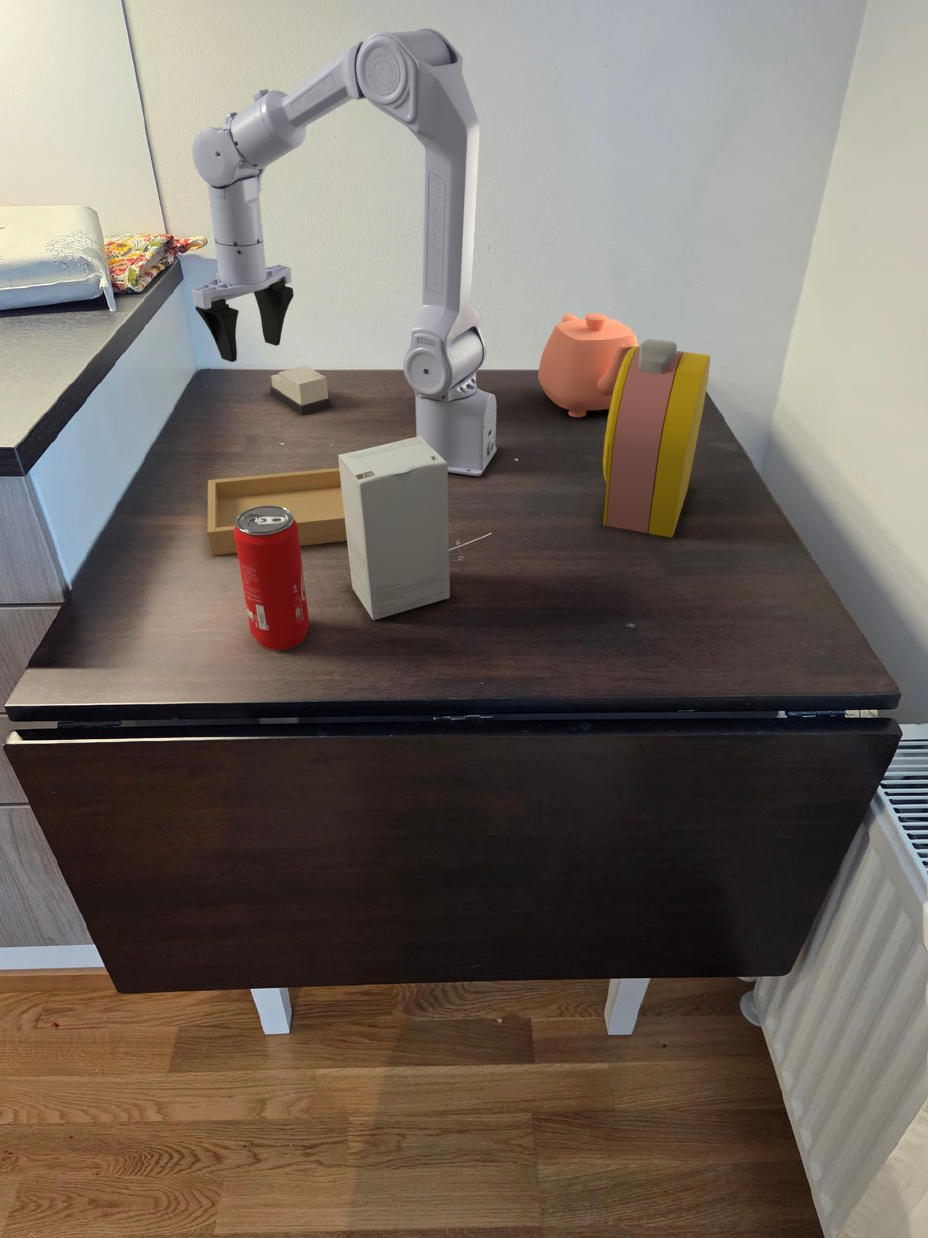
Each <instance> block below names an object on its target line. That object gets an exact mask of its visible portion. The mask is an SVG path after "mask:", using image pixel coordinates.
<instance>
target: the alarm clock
mask: <svg viewBox="0 0 928 1238" xmlns="http://www.w3.org/2000/svg"><path fill="white" fill-rule="evenodd" d="M677 349H678V344H677V343H676V341H670V340H669V341H668V340H663V339H662V340H660V339H652V338H648V339H646V340H644V341H642V342H641V343H640V346H639V345H638V346H634V347H633V348H631V349H630V350H629V351H628V353H627V354H626V356H625V358H624V360H623V362H622V365H621V367H620V369H619V373H618V376H617V380H616V384H615V387H614V391H613V396H612V400H611V405H610V410H608V416H607V422H606V429H605V435H604V443H603V457H602V470H603V477H604V481H605V485H606V486H605V496H604V509H603V510H604V511H603V519H602V520H603V521H602V525H603V526H606V527H611V528H615V529H616V528H617V529H623V530H627V531H632V532H639V533H645V534H650V535H656V536H661V537H666V538H673V537H674V534H675V530H676V528H677V524H678V521H679V518H680V515H681V512H682V509H683V506H684V501H685V499H686V496H687V493H688V489H689V483H690V479H691V474H692V467H693V464H694V457H695V452H696V447H697V442H698V436H699V431H700V427H701V420H702V416H703V410H704V405H705V400H706V394H707V387H708V382H709V374H710V366H711V354H705V353H698V352H689V351H688V352H687V351H682V350H677Z"/></svg>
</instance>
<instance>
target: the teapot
mask: <svg viewBox="0 0 928 1238" xmlns="http://www.w3.org/2000/svg"><path fill="white" fill-rule="evenodd" d="M634 346H639V343H638V339H637V337H636V334H635V332H634V331H633V330H632V329H631V328H630V327H628V326H626V324H624V323H622V322H621V321H618V320H617V319H614V318H613V319H612V318H608V316H607V315H605V314H603V313H597V312H593V313H588V314H585V315H584V318H579V317H577V316H576V315H574V314H573V313H566V314H564V315H562V318H561V322H560V323H557V324H556V325H555V326H554V328H553V329H552V331H551V333H550V335H549V338H548V340H547V341H546V344H545V346H544V348H543V351H542V354H541V357H540V361H539V366H538V373H537V374H538V375H537V378H538V382H539V385H540V386H541V388H542V391H543V392H544V394H545V395H546V396H547V398H549V400H551V401H552V403H554V404H555V405H557V406H558V407H560V408H562V409H565V410H568V413H567V414H568V415H569V416H571V417H574V418H582V417H585V416H586V415H587V411H603V410H608V411H609V410H610V405H611V400H612V396H613V391H614V387H615V384H616V380H617V376H618V373H619V369H620V367H621V365H622V362H623V360H624V358H625V356H626V354H627V353H628V351H629V350H630V349H631V348H633V347H634Z"/></svg>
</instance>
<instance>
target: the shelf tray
mask: <svg viewBox="0 0 928 1238" xmlns="http://www.w3.org/2000/svg"><path fill="white" fill-rule="evenodd" d="M259 506H279V507H283V508H286V509H288V510H289V511H290V512H291V513H292V514H293V517H294V520H295V521H296V522H297V525H298V533H299V541H300V547H303V546H311V545H312V546H313V545H323V544H332V543H339V542H347V534H346V525H345V515H344V506H343V498H342V490H341V479H340V470H339V467H333V468H332V467H331V468H321V469H312V470H301V471H291V472H281V473H279V472H278V473H269V474H259V475H258V474H257V475H249V476H239V477H238V476H237V477H227V478H217V479H216V478H215V479H208V480H207V537H208V543H209V549H210V552H211V557H213V556H214V557H215V556H221V555H230V554H231V555H232V554H237V549H236V543H235V537H234V528H235V526H236V525H235V521H236V518H237V517H238V516H239V515H240V514H241V513H242V512H244V511H246V510H248V509H251V508H254V507H259Z"/></svg>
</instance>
